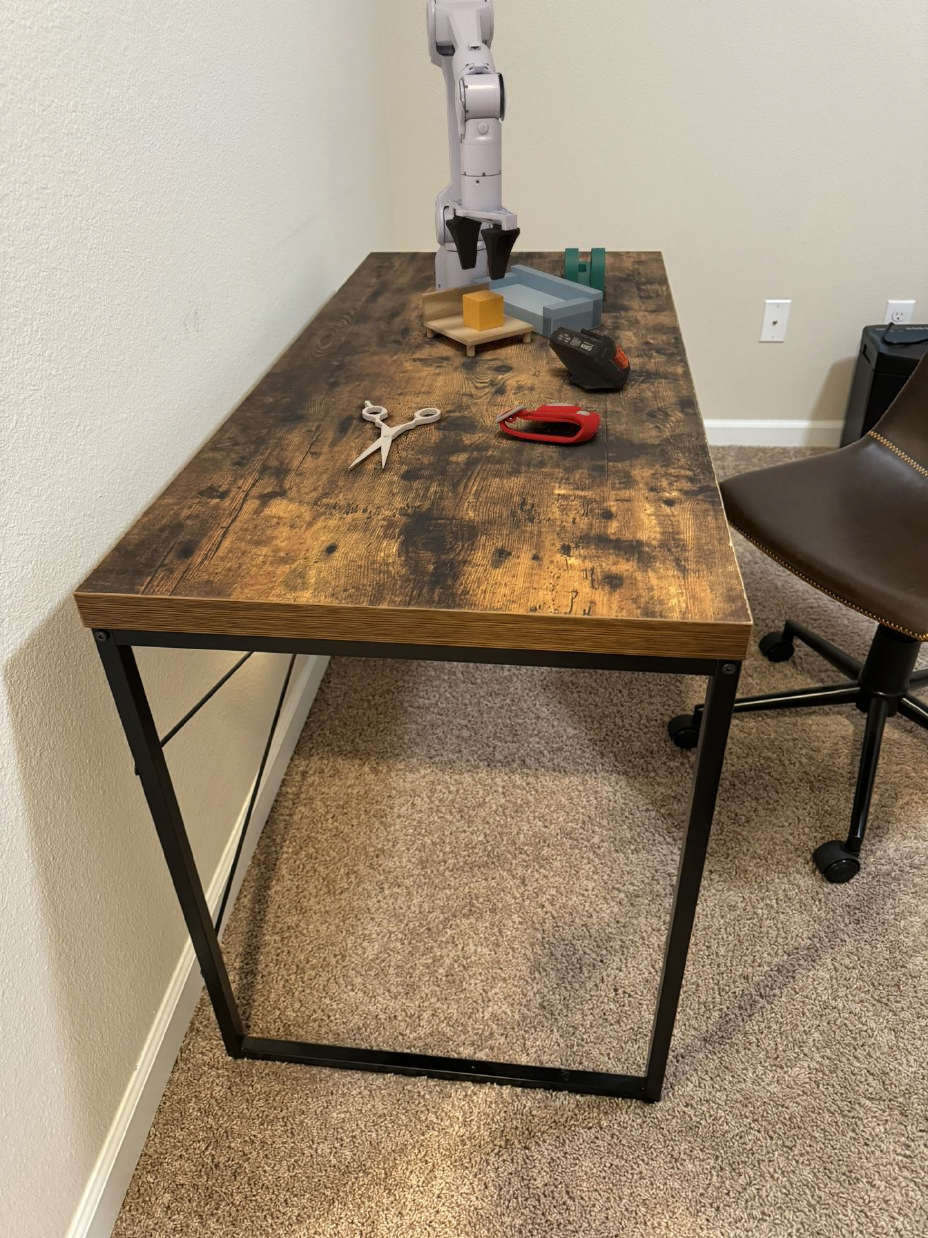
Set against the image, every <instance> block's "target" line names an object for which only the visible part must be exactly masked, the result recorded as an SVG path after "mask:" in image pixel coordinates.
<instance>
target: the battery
mask: <svg viewBox="0 0 928 1238" xmlns="http://www.w3.org/2000/svg"><path fill="white" fill-rule="evenodd" d="M548 347H549V348H550V349H551V350H552V351H553V352H554V354H555V355H556V357H557V358H558V359H559V361H560V363H562V365H564V367H565V368H566V369H567V371H568V372H569V373H570V374H571V375H572V377H570V378H568V380H569V381H571V382H572V383H574V384H575V385H577V386H579V387H580V388H582V389H583V390H586V391H588V390H596V389H621V388H622V387H624V386H625V385H626V383H627V381H628V378H629V375H630V373H631V369H632V368H631V367H632V366H631V364H630V360H629V359H628V358H627V356H626V354H625V352H624V351H623V350H622V348H621V347H620V346H619V345H618V344H617V343H616V341H615V340H614V339H613V338H612V337H611V336H610V335H608V334H604V335H602V334H601V333H600V334H599V333H597V332H594V331H592V330H590V329H589V330H586V329H584V328H582V329H581V332H577V331H574V330H571V329H568V328H565V327H562V326H560V327H559V328H558V330H556V331H553V332H552V334H551V335H550V338H549V340H548Z"/></svg>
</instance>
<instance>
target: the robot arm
mask: <svg viewBox="0 0 928 1238" xmlns="http://www.w3.org/2000/svg"><path fill="white" fill-rule="evenodd" d="M425 11H426V12H425V13H426V14H425V15H426V16H425V17H426V34H427V47H428V48H427V49H428V56H429V57H430V63H431V64H433V65H435V66H436V67H438V68H440V69H441V72H442V76H443V79H444V84H445V96H446V117H447V119H446V120H447V139H448V156H449V159H448V161H449V177H450V178H449V179H450V180H449V181H450V182H449V183H448V184H447V185H446V186H445V187H444V188H443V189H442V190H441V191H440V192H439V193H437V195H436V197H435V198H436V199H435V202H434V203H435V205H434V206H435V207H434V208H435V210H434V225H435V239H436V242H437V244H439V246H440V247H439V248H438V250H437V251H436V254H435V256H434V257H435V259H434V267H435V268H434V271H435V292H436V291H440V290H445V289H450V288H455V287H460V286H465V285H470V284H472V280H474V279H479V278H484V277H488V275H489V276H490V279H491V280H498V279H503V278H504V277H505V273H507V268H508V264H509V260H510V257H511V253H512V251H513V248H514V246H515V244H516V241H517V239H518V238H519V236H520V234H521V228H520V227H518V214H517V213H515V212H512V211H511V210H509V209H508V208H507V207H505V206H504V205H503V203H502V202H503V190H502V189H503V185H502V184H503V183H502V182H503V179H502V178H503V177H502V176H503V173H502V170H503V169H502V165H503V161H502V160H503V159H502V156H503V155H502V154H503V153H502V147H503V145H502V144H503V143H502V140H503V139H502V136H503V134H502V131H503V129H502V127H503V124H502V122H504V121H505V117H506V110H507V88H506V87H507V86H506V81H505V77H504V73H503V71H497V70H496V66H495V63H494V58H493V55H492V52H491V48H492V43H493V41H494V40H493V39H494V33H495V32H494V31H495V12H494V3H493V0H427V2H426V7H425ZM447 204H448V205H447Z"/></svg>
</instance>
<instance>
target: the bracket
mask: <svg viewBox="0 0 928 1238" xmlns="http://www.w3.org/2000/svg"><path fill="white" fill-rule="evenodd" d="M579 249H580V248H579V247H565V248H564V261H563V262H564V264H563V266H562V278H563V279H566V280H569V281H572V282H575V283H578V284H581V285H584V286H587V287H590V288H593V289H596V290H599V291H602V292H603V296H602V302H604V295H605V279H606V247H591V248H590V249H591V250H590V257H589V258H590V259H589V261H580V250H579Z"/></svg>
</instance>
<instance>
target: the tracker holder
mask: <svg viewBox="0 0 928 1238" xmlns="http://www.w3.org/2000/svg"><path fill="white" fill-rule="evenodd" d="M517 418H518V419H521V420H522V421H529V422H549V423H550V422H552V423H570V424H575V425H577V426H580V430H579V431H578V432H577V434H576V435H574V436H573V437H569V436H560V435H551V434H541V433H532V432H524V431H519V430H516V429H513V428H511V427H509V426H508V425H507V424H506V423H509V424H513V423H514V422H516V421H517V420H518V419H517ZM494 423H495V424H498V426H499V427H500V429H501V430H502V431H503V432H505V433H506V434H508V435H511V436H514V437H518V438H521V439H526V440H534V441H542V442H550V443H560V444H574V443H575V444H577V443H584V442H586V441H588V440H590V439H591V438H592V437H593V436H594V435H595V434H596V433H597V431H598V429H599V427H600V423H601V418H600V415H599V413H597V412H593V411H587V410H586V411H585V410H583V408H582V407H580V406H579V405H576V404H570V403H566V402H563V403H562V402H560V403H559V402H558V403H556V402H555V403H548V404H543V405H540V406H538V407H537V408H536V409H535V410H528V406H527V405H519V406H517V407H515V408H511V409H510V408H508V409H506V410H504V411H502V412H500V413H499V414H498V415H496V416H495V419H494Z"/></svg>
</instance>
